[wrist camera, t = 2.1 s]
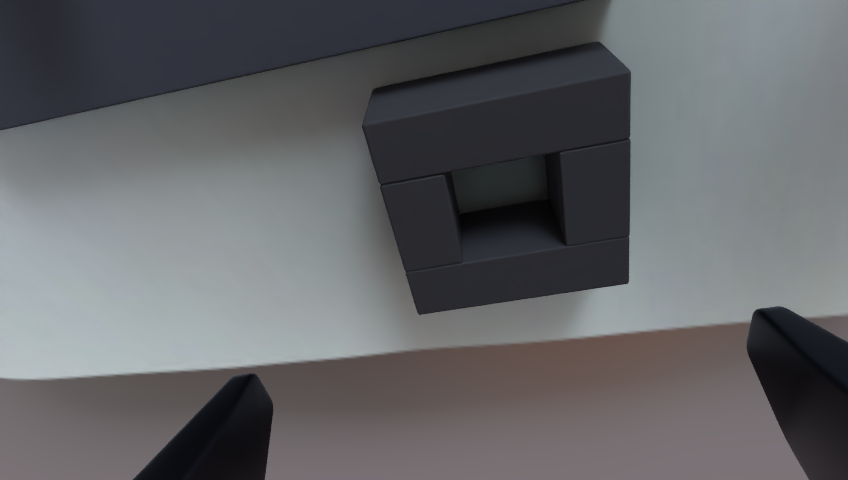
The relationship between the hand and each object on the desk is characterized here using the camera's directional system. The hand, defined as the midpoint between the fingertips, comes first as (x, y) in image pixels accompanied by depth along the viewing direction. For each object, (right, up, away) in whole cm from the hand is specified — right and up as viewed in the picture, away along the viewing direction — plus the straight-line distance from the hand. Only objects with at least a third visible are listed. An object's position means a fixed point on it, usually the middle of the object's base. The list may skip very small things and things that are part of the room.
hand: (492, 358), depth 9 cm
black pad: (+1, +5, +8) cm, 10 cm away
